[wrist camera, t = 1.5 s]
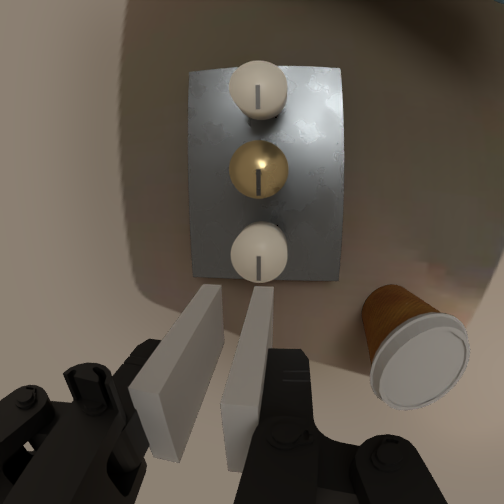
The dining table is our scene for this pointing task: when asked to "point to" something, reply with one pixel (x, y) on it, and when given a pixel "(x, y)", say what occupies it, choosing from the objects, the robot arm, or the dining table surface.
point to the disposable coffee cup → (412, 348)
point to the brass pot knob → (258, 169)
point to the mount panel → (295, 188)
